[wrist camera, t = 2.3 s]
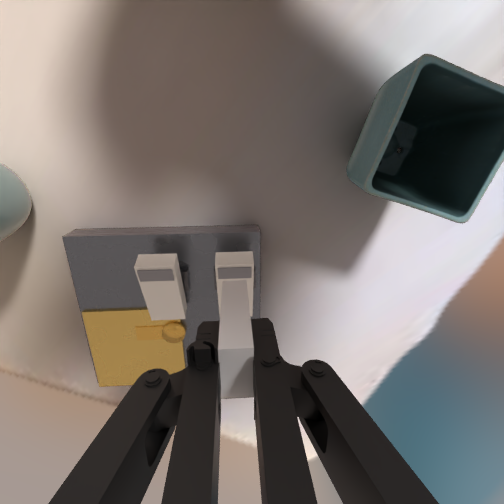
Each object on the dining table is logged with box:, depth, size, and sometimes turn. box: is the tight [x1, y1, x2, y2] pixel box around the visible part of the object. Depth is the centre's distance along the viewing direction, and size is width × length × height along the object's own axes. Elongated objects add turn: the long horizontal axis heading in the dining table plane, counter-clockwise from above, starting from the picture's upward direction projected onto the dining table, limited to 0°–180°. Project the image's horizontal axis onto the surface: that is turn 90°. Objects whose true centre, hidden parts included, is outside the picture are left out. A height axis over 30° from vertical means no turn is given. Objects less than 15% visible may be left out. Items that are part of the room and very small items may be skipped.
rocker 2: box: [215, 251, 254, 316], centre depth 27 cm, size 7×3×2 cm, turn 2°
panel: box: [63, 225, 260, 387], centre depth 31 cm, size 17×18×3 cm
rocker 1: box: [134, 253, 187, 320], centre depth 26 cm, size 7×3×2 cm, turn 2°
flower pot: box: [347, 54, 504, 223], centre depth 24 cm, size 9×9×9 cm
